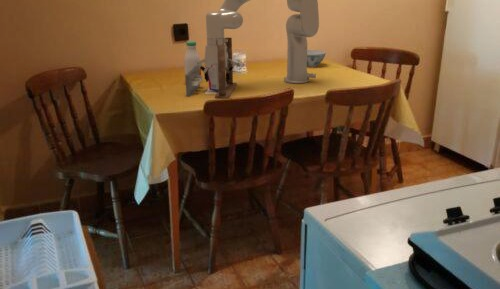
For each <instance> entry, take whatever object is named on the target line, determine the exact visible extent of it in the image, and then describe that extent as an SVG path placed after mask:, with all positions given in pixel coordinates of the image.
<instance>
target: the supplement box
mask: <svg viewBox="0 0 500 289" xmlns="http://www.w3.org/2000/svg"><path fill="white" fill-rule="evenodd" d="M207 71H208V81H207V82H208V88H209V90H216V91H219V81H218V64H216V65H211V68H208V70H207ZM225 77H226V75H225ZM226 88H227V87H226Z"/></svg>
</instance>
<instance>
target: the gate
mask: <svg viewBox="0 0 500 289" xmlns="http://www.w3.org/2000/svg"><path fill="white" fill-rule="evenodd" d="M225 39H228V42H226V43H224V44H226V45H227V50H228V58H229V59H231V60H232V61H233V43H232V42H233V39H232V37H225ZM217 54H218V81H219V91H218V92H217V93H216V94H214V99H230V97H231V95H232V94H233V91H234V90H235V88H236V86H238V85H237V82H234V80H233V79H234V78H233V77H234V75H233V72H234V71H233V70H234V68H233V69H232V70H231V71H230V80H229V81H228V82H226V77H225V76H226V71H225V46H224V45H217ZM231 66H232V64H231V63H229V65H228V68H230V67H231ZM226 87H227V88H226Z"/></svg>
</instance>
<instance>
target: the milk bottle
mask: <svg viewBox="0 0 500 289" xmlns="http://www.w3.org/2000/svg"><path fill="white" fill-rule="evenodd" d="M183 61H184V65H183V66H184V76H185V75H186V74H187V73H188V72H190V71H191V70H192V69H193V68H194V67H195V66H199V65H198V64H197V63H198V62H200V61H201V58H200V55H199V53H198V50H197V42H196V41H195V40H189V41H186V52H185V55H184V60H183ZM199 76H202V70H201V69H200V67H199ZM184 79H185V78H184ZM185 82H186V79H185Z"/></svg>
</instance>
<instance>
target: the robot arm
mask: <svg viewBox="0 0 500 289" xmlns="http://www.w3.org/2000/svg"><path fill="white" fill-rule="evenodd" d="M249 1H251V0H224V1H223V2H222V5H220V8H219V10H218V11H210V12H207V13H206V14H205V26H206V44H205V47H204V57H203V59H200V62H198V63H197V64H198V65H199V67H200V69H201V72H203V73H204V74H203V76H204V80H205V82H206V83H208V82H209V81H208V71H207V70H208V68H211V65H216V64H218V54H217V45H224V46H225V76H226V82H228V81H229V80H230V71H231V70H232V69H233V70H234V69H235V66H236V62H235V61H233V59H232V60H231V59H229V58H228V50H227V45H226V44H225V43H226V42H228V39H225V38H226V37H225V30H226V29H227V30H228V29H229V30H237V29H239V28H240V27H241V26H242V25H243V23H244V18H243V15H242V14H241V13H240V12H238V10H239V9H240V7H242V6H243V5H244V4H246V3H248V2H249ZM286 5H287V7H288V9H289V10H290V11H292V12H295V14H291V15H290V16H289V17H287V20H286V23H285V31H286V37H287V51H286V54H287V55H286V56H287V57H286V58H287V59H286V63H287V64H286V76H284V77H283V81H284V82H285V83H289V84H306V83H308V82H310V78H311V79H312V78H314V79H316V76H317V75H316V73H313V72H311V73H310V72H308V70H307V68H308V67H307V50H308V39H307V38H312V37H315V35H317V33H318V30H319V27H320V17H319V16H320V15H319V2H318V0H286ZM296 12H297V13H296ZM229 63H231V64H232V66H231V67H230V68H228V65H229ZM203 64H204V65H203Z"/></svg>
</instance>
